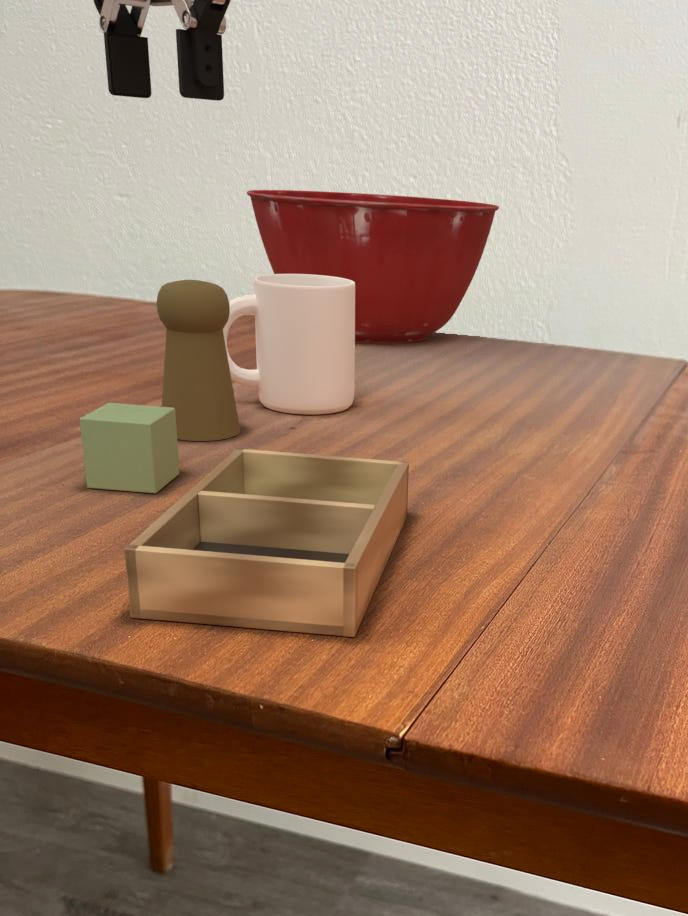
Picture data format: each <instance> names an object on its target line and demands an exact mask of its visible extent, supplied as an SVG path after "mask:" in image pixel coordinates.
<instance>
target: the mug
mask: <svg viewBox="0 0 688 916" xmlns="http://www.w3.org/2000/svg"><path fill="white" fill-rule="evenodd" d="M253 292H254V293H253V294H252V293H251V294H245V295H241V296H238V297H235V298H233V299H231V300H230V301H229V304H230V314H229V319H228V322H227V323H226V325H225V327H224V328H223V334H224V340H225V345H226V351H227V357H228V363H229V369H230V374H231V380H232V383H235V384H237V385H240V386H245V387H250V388H251V387H252V388H257V395H258V400H259V402H260V403H261V404H262V405H263V406H264V407H265V408H267V409H269V410H272V411H274V412H275V411H276V412H280V413H283V414H292V415H307V416H309V415H328V414H335V413H340V412H344V411H346V410H348V409H349V408H350V407H351V406H352V405H353V402H354V401H355V390H356V389H355V386H356V385H355V384H356V381H355V380H356V377H355V376H356V375H355V374H356V371H355V370H356V342H355V282H354V281H352V280H349V279H345V278H340V277H333V276H324V275H311V274H274V273H270V274H262V275H257V276H255V277H254V278H253ZM247 315H254V325H255V326H254V327H255V328H254V330H255V331H254V332H255V354H256V355H255V357H256V358H255V359H256V360H255V361H256V369H248V368H243V367H241V366H238V364H236V363H235V361H233V359H232V358H231V355H230V352H229V349H228V334H229V330H230V328H231V326H232V324H234V322H235V321H236V320H237V319H239V318H240V317H242V316H247Z"/></svg>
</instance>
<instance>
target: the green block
mask: <svg viewBox="0 0 688 916" xmlns="http://www.w3.org/2000/svg"><path fill="white" fill-rule="evenodd" d="M79 426H80V434H81V445H82V453H83V462H84V463H83V464H84V471H85V482H86V488H87V489H93V490H94V489H95V490H96V489H97V490H109V491H118V492H119V491H120V492H132V493H142V494H143V493H145V494H157V493H158V492H159V491H161V490H162V489H163V488H164V487H165V486H167V485H168V484H169V483H170V482H172V481H173V480H174V479H175V478H176V477H178V476H179V475H180V461H179V460H180V459H179V445H178V439H177V430H176V415H175V408H171V407H162V406H156V405H145V404H131V403H119V402H117V403H116V402H107V403H105V404H103V405H101V406H100V407H98V408H96V409H94V410H93V411H90V412H89V413H86V414H85V415H83V416H81V417H80V418H79Z"/></svg>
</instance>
